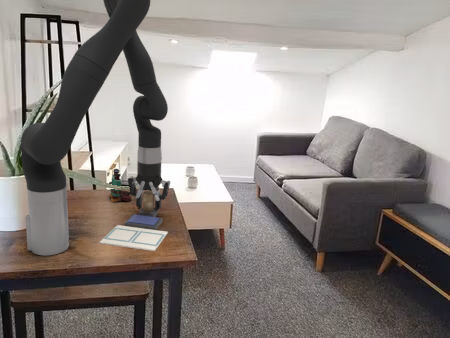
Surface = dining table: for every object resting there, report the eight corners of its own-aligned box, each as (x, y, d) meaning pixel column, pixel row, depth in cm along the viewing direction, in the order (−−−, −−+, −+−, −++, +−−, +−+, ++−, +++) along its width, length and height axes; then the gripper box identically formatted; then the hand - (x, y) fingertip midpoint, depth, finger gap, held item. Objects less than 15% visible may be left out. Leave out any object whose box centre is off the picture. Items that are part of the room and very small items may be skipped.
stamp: (138, 217, 128) (138, 194, 126) (143, 211, 133) (144, 189, 131) (153, 219, 128) (153, 196, 126) (158, 213, 133) (158, 191, 130)
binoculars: (140, 176, 139) (111, 174, 135) (136, 204, 142) (108, 203, 138) (136, 169, 147) (109, 167, 143) (133, 195, 150) (106, 194, 146)
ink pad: (124, 226, 121) (124, 221, 121) (132, 217, 128) (132, 213, 127) (155, 230, 120) (155, 226, 119) (162, 221, 126) (162, 217, 126)
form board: (99, 243, 109) (99, 241, 109) (117, 226, 121) (117, 224, 121) (154, 251, 107) (154, 249, 107) (167, 232, 119) (167, 231, 118)
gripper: (123, 160, 123) (123, 210, 127) (167, 165, 121) (166, 216, 125) (132, 154, 130) (132, 202, 134) (174, 159, 128) (172, 207, 132)
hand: (148, 208), depth 130 cm, fingers open, 5 cm apart
